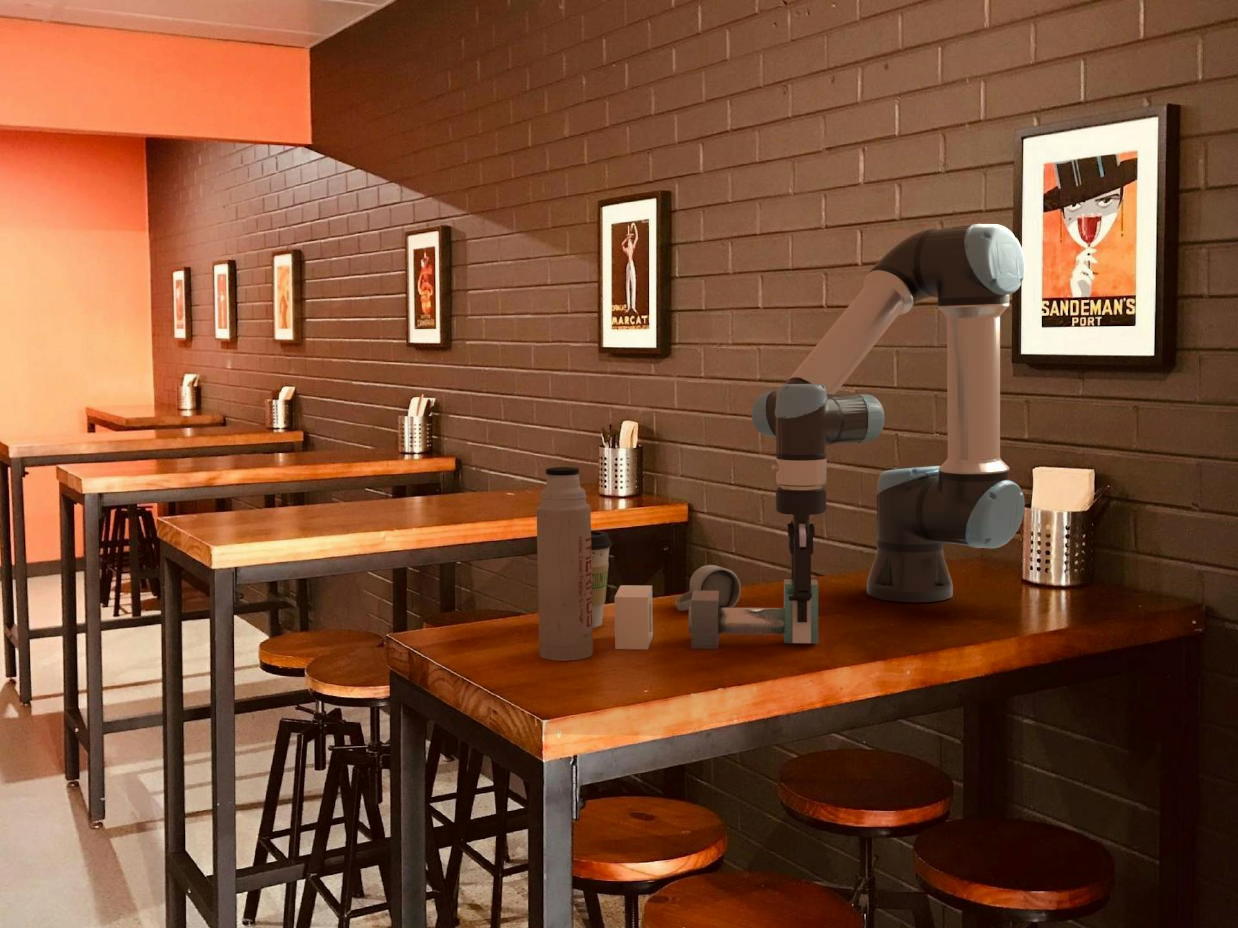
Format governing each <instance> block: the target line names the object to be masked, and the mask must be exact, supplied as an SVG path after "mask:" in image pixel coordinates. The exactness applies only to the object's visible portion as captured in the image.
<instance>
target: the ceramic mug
mask: <svg viewBox="0 0 1238 928" xmlns="http://www.w3.org/2000/svg"><path fill="white" fill-rule="evenodd" d="M689 580H690V581H689V590H688V591H686V592H685V593H683V594H681V595H680V596H679V597H677V598H676V599H675V601H674V604H675V607H676V609H677V611H678V612H684V611H689V607H691V599H692V594H693V591H719V608H735V606H736V605H737V603H738V602H739V600H740V597H741V595H742V594H741V593H742V590H741V589H742V588H741V587H742V585H741V582H740V579H739V578H738V576H737V574H736V573H735V572H734V571H732V570H730V569H728V568H726V567H721V566H719V565H714V564H707V565H702V566H700V567H699V568H698V569H696V570H695V571H694V572H693V573H692V575H691V577H690V579H689Z"/></svg>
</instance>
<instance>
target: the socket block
mask: <svg viewBox="0 0 1238 928" xmlns="http://www.w3.org/2000/svg"><path fill="white" fill-rule="evenodd" d="M653 626H654V625H653V585H637V584H635V585H631V584H630V585H626V584H625V585H623V584H622V585H619V588H618V589H617V592H616V594H615V595H614V646H615V648H614V649H615V650H649V648H650V645H651V641H652V639H653V636H654V635H653V633H654V630H653Z"/></svg>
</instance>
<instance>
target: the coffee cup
mask: <svg viewBox="0 0 1238 928" xmlns="http://www.w3.org/2000/svg"><path fill="white" fill-rule="evenodd" d="M612 546H613V543H612V540H610V537H609V533H608V532H606V531H603V530H594V529H593V530H592V529H591V562H592V626H593V629H594V628H598V627H601V626H602V625H603V616H604V608H605V606H604V605H605V603H606V596H607V586H608V575H609V568H610V562H609V554H610V548H611V547H612Z"/></svg>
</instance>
